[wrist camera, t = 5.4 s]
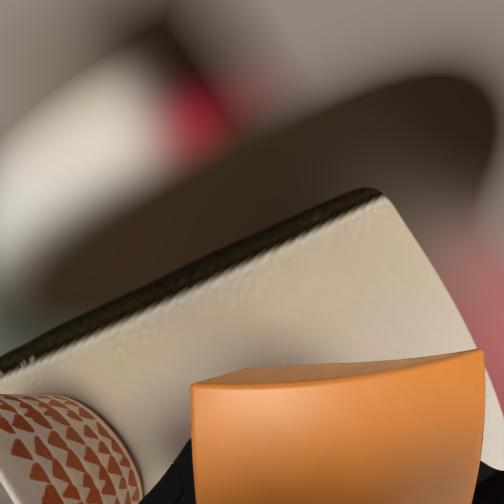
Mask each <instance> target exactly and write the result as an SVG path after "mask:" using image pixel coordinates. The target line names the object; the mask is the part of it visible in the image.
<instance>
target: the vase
mask: <svg viewBox="0 0 504 504" xmlns="http://www.w3.org/2000/svg"><path fill="white" fill-rule="evenodd" d="M142 499H143V490H142V484H141V480H140V476H139V473H138V470H137V468H136V465H135V463H134V461H133V459H132V457H131V455H130V453H129V452H128V450H127V448H126V447H125V445H124V444H123V442H122V441H121V440H120V438H119V437H118V436H117V434H116V433H115V432H114V431H113V430H112V429H111V427H110V426H109V425H108V424H107V423H106V422H105V421H104V420H103V419H102V418H101V417H99V416H98V415H97V414H96V413H95V412H93V411H92V410H91V409H89V408H88V407H86V406H85V405H83V404H81V403H80V402H78V401H76V400H73V399H71V398H68V397H65V396H61V395H55V394H38V395H9V394H0V504H138V503H139V502H140V501H141V500H142Z"/></svg>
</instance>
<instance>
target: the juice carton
mask: <svg viewBox="0 0 504 504" xmlns="http://www.w3.org/2000/svg"><path fill="white" fill-rule="evenodd" d="M484 416H485V363H484V352H483V350H482V349H474V350H468V351H462V352H456V353H450V354H443V355H435V356H428V357H419V358H410V359H400V360H388V361H375V362H357V363H329V364H314V365H302V366H286V367H263V368H245V369H241V370H238V371H235V372H232V373H228V374H225V375H222V376H218V377H215V378H211V379H208V380H204V381H200V382H197V383H194V384H191V387H190V417H191V440H192V458H193V473H194V486H195V497H196V504H472V500H473V495H474V491H475V486H476V481H477V476H478V470H479V464H480V458H481V450H482V441H483V431H484Z"/></svg>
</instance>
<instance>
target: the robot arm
mask: <svg viewBox="0 0 504 504" xmlns="http://www.w3.org/2000/svg"><path fill="white" fill-rule="evenodd" d="M173 463H174V464H172V465H171V466H170V467H169V469H168V470H167V472H166V473H165V474H164V475H163V477H162V478H161V479H160V481H159V482H158V483H157V484H156V485H155V486H154V487H153V488H152V490H151V491H150V492H149V493H148V494H147V495H146V496H145V497H144V498H143V499H142V500H141V501H140V502H139V503H138V504H196V497H195V486H194V473H193V458H192V440H191V437H190V439H189V440H188V442H187V443H186V445H185V446H184V448H183V449H182V450H181V452H180V453H179V455H178V456H177V458H176V459H175V460H174V462H173ZM472 504H504V471H501V470H497V469H494V468H492V467H490V466H488V465H487V464H485V463H484V462H482V461H480V464H479V470H478V476H477V481H476V486H475V491H474V495H473V500H472Z"/></svg>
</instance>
